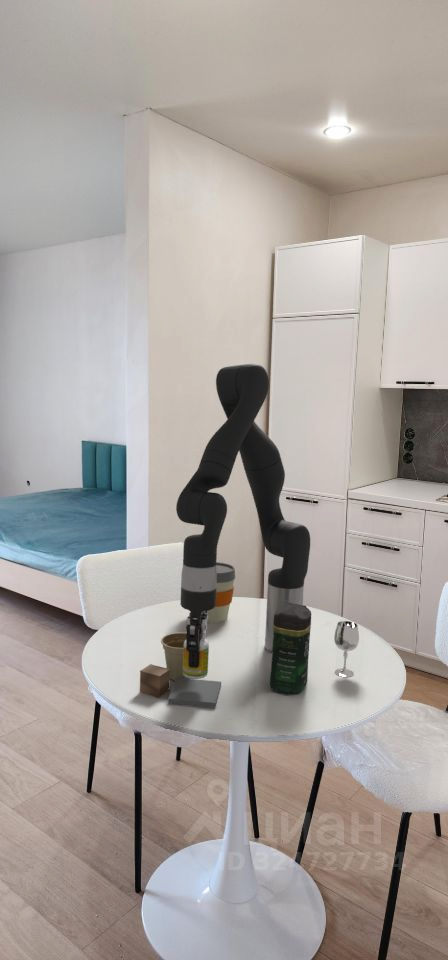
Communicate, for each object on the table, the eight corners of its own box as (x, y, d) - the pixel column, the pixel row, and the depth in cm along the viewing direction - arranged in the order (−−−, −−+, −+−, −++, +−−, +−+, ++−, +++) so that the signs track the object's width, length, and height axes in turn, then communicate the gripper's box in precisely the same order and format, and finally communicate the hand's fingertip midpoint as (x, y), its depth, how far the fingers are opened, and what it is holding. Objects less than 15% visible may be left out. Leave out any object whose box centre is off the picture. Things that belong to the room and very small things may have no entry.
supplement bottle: (207, 680, 134) (208, 636, 132) (181, 679, 134) (183, 634, 132) (208, 669, 139) (210, 627, 138) (183, 668, 139) (185, 625, 138)
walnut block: (169, 690, 139) (169, 669, 138) (159, 698, 135) (159, 676, 134) (150, 685, 141) (150, 664, 140) (139, 692, 137) (140, 670, 137)
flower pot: (169, 688, 140) (170, 650, 139) (153, 671, 148) (154, 635, 147) (207, 680, 144) (209, 644, 143) (190, 664, 152) (191, 630, 151)
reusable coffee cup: (240, 614, 189) (242, 565, 187) (222, 627, 177) (225, 575, 175) (202, 607, 194) (204, 559, 192) (183, 620, 182) (184, 569, 180)
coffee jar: (300, 699, 137) (305, 616, 134) (265, 692, 139) (269, 611, 137) (311, 681, 146) (315, 603, 143) (277, 675, 148) (281, 598, 146)
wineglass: (358, 670, 153) (361, 622, 151) (354, 679, 147) (358, 630, 146) (334, 666, 155) (337, 618, 153) (330, 675, 149) (333, 626, 148)
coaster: (221, 686, 141) (221, 681, 141) (215, 708, 131) (215, 702, 131) (177, 682, 142) (177, 677, 142) (168, 703, 133) (168, 698, 132)
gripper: (211, 596, 126) (208, 677, 128) (220, 576, 140) (217, 649, 143) (174, 593, 127) (172, 674, 129) (187, 574, 141) (184, 647, 144)
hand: (196, 660), depth 136 cm, fingers closed on supplement bottle, 5 cm apart
